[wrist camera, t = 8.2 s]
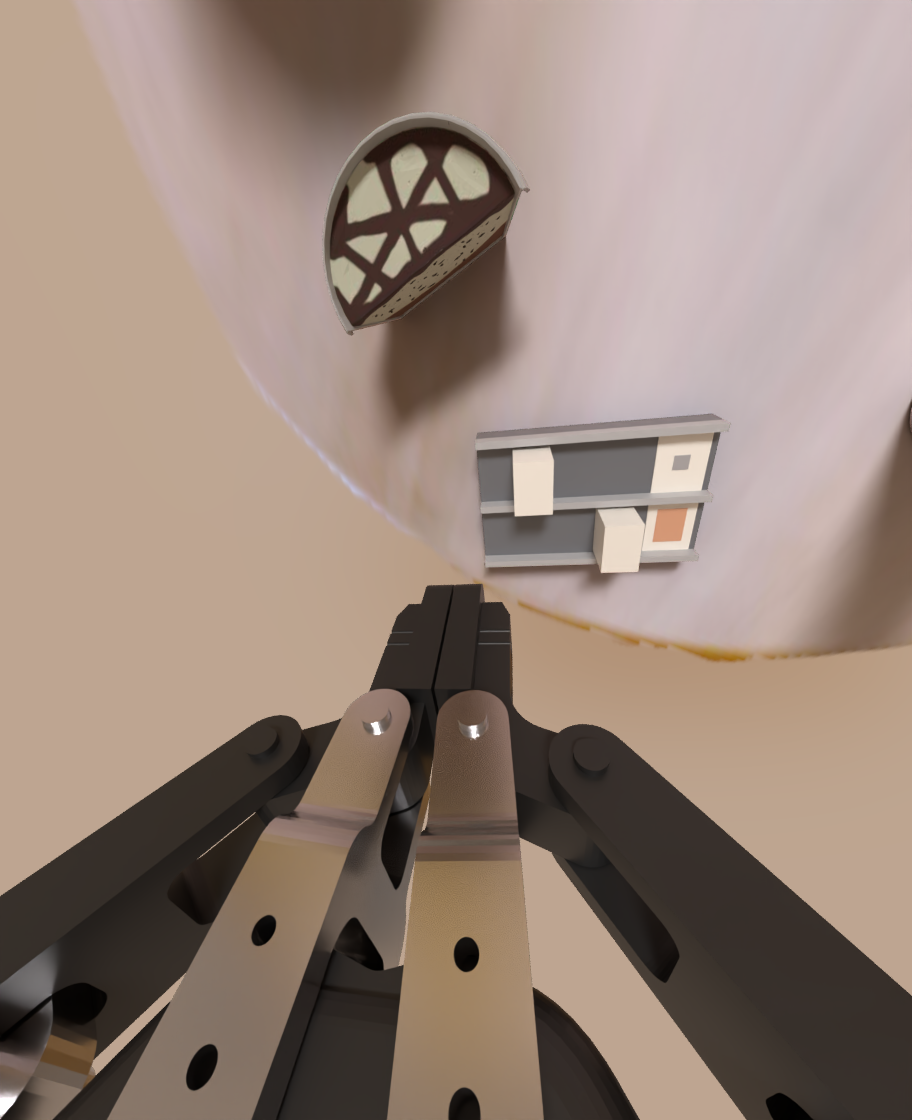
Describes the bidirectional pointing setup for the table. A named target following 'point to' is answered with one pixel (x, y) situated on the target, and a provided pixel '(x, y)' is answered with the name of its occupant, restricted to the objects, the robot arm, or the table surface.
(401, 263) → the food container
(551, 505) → the near tab
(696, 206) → the table surface
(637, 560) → the far tab
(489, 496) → the switch panel
